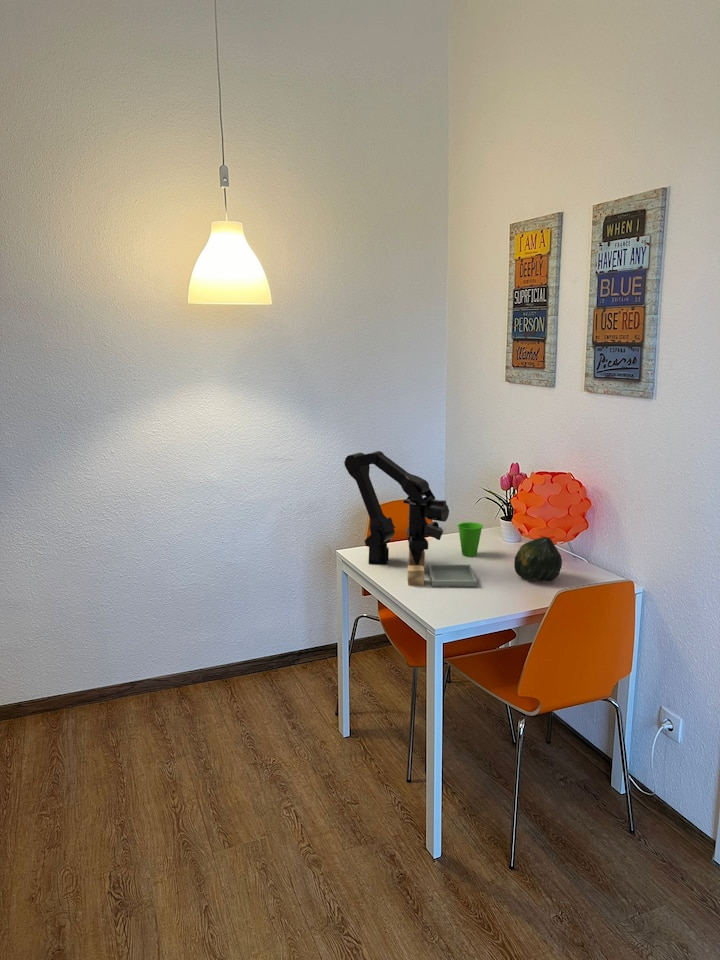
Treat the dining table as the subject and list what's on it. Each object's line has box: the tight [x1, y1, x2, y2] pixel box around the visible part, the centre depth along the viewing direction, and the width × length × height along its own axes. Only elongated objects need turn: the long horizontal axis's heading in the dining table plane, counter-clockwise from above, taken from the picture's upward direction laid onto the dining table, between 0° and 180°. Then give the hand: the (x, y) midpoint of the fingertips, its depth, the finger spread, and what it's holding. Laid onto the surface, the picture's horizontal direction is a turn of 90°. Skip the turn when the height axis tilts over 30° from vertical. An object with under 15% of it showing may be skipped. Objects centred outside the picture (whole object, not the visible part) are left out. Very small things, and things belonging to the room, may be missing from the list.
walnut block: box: [408, 548, 426, 568], centre depth 235 cm, size 5×5×5 cm
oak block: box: [406, 565, 425, 587], centre depth 222 cm, size 5×5×5 cm
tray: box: [427, 564, 478, 588], centre depth 226 cm, size 14×16×2 cm
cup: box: [457, 521, 484, 558], centre depth 250 cm, size 9×9×11 cm
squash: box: [513, 536, 563, 582], centre depth 225 cm, size 14×15×15 cm
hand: (416, 561), depth 235 cm, fingers closed on walnut block, 5 cm apart
